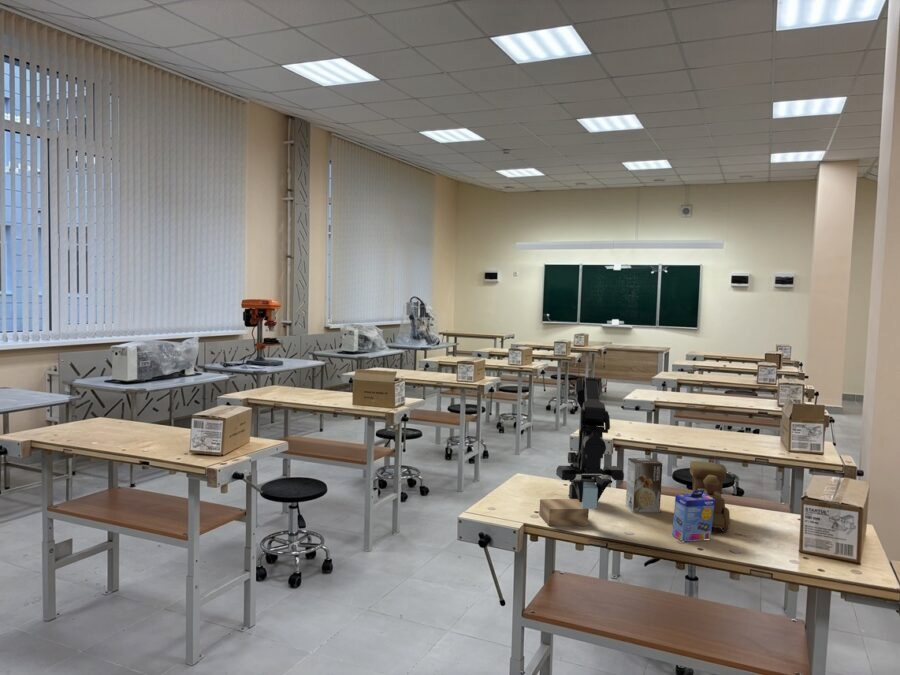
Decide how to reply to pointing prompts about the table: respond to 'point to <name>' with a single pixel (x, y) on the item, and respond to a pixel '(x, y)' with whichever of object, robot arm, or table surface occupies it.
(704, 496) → the ink cartridge box
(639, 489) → the coffee box
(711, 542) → the table surface
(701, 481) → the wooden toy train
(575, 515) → the brown wooden block
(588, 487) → the block
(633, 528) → the table surface
